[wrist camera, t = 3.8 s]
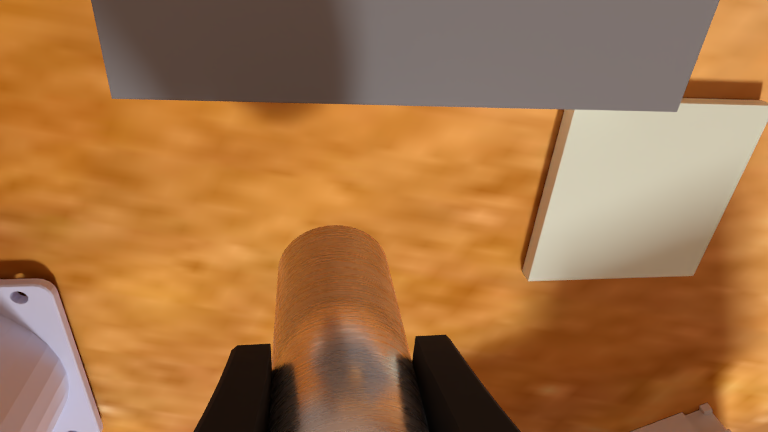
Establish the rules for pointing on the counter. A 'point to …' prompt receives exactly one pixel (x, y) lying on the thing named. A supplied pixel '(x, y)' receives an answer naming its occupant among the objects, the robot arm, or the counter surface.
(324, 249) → the shiny metal cylinder
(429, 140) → the counter surface
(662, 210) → the pad
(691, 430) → the circuit breaker
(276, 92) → the box
